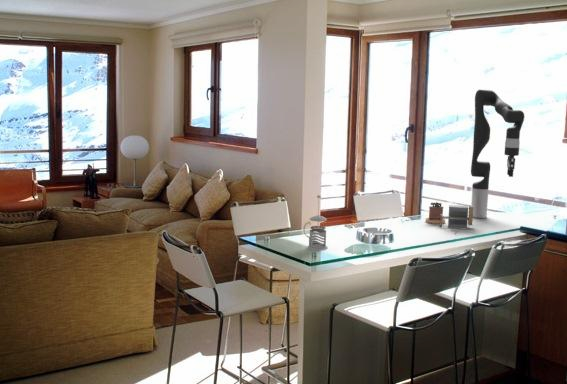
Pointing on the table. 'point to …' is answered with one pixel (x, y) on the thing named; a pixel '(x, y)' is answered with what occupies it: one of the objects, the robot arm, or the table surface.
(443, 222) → the coaster
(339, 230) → the table surface
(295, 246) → the table surface
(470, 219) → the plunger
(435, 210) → the lighter
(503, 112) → the robot arm
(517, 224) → the table surface
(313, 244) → the french press
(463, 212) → the grey box
